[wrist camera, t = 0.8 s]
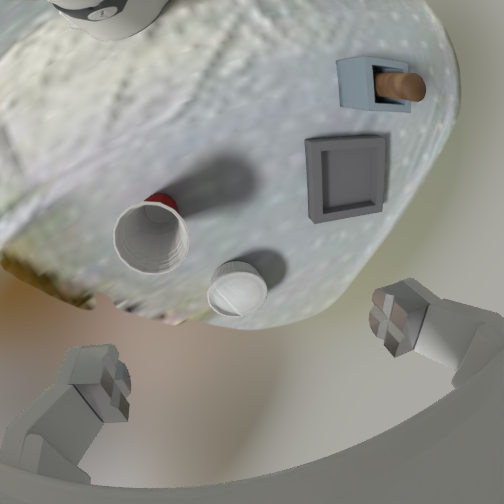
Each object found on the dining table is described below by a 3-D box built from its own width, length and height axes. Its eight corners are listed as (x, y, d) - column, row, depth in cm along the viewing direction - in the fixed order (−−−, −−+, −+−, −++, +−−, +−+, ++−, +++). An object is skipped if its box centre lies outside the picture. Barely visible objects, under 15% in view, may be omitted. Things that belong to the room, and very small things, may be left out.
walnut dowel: (351, 72, 37) (403, 71, 25) (370, 74, 37) (424, 75, 25) (353, 94, 39) (405, 100, 27) (372, 95, 39) (426, 102, 27)
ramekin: (198, 292, 56) (198, 310, 51) (219, 248, 51) (222, 263, 47) (246, 305, 60) (251, 323, 55) (271, 265, 55) (278, 281, 51)
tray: (304, 139, 43) (311, 142, 41) (376, 135, 44) (385, 138, 42) (308, 216, 51) (314, 223, 48) (374, 205, 52) (382, 211, 50)
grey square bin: (336, 60, 36) (364, 56, 29) (376, 64, 37) (407, 63, 29) (340, 106, 41) (368, 110, 33) (379, 106, 41) (410, 112, 34)
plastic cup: (188, 173, 43) (185, 198, 33) (194, 232, 48) (194, 271, 38) (124, 181, 41) (103, 209, 31) (136, 238, 47) (122, 278, 37)
